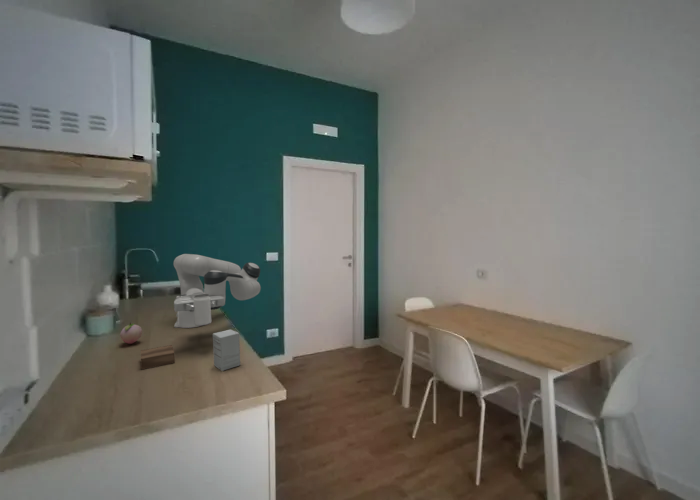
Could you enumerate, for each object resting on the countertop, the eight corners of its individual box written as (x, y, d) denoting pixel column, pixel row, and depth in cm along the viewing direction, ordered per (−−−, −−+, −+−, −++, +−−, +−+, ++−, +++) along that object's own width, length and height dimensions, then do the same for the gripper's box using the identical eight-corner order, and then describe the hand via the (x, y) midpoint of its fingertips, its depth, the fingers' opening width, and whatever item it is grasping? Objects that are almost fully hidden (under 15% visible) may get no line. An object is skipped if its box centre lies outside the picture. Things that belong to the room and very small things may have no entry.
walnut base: (141, 360, 132) (140, 350, 132) (172, 354, 138) (172, 344, 138) (141, 369, 123) (140, 359, 123) (174, 362, 129) (174, 352, 128)
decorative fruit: (141, 345, 149) (140, 323, 149) (119, 348, 146) (118, 326, 145) (144, 339, 158) (142, 319, 157) (123, 342, 154) (122, 321, 154)
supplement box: (232, 360, 131) (231, 328, 130) (240, 365, 125) (239, 332, 125) (213, 365, 125) (212, 333, 125) (221, 371, 120) (220, 337, 119)
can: (214, 321, 142) (213, 293, 141) (206, 325, 135) (204, 296, 134) (200, 321, 142) (198, 294, 142) (191, 325, 136) (189, 296, 135)
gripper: (222, 304, 155) (228, 310, 143) (172, 311, 144) (175, 317, 132) (221, 291, 155) (228, 296, 143) (172, 296, 144) (175, 302, 132)
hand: (202, 306), depth 138 cm, fingers closed on can, 6 cm apart
